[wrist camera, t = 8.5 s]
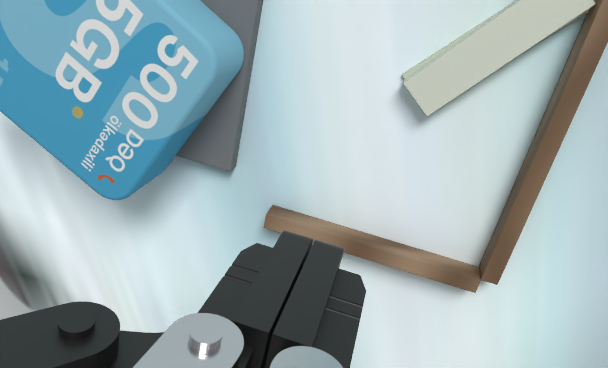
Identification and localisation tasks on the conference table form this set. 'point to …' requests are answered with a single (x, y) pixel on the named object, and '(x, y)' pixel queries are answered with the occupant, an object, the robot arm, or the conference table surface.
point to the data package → (113, 81)
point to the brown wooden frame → (562, 107)
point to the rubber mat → (227, 92)
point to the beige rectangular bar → (488, 48)
